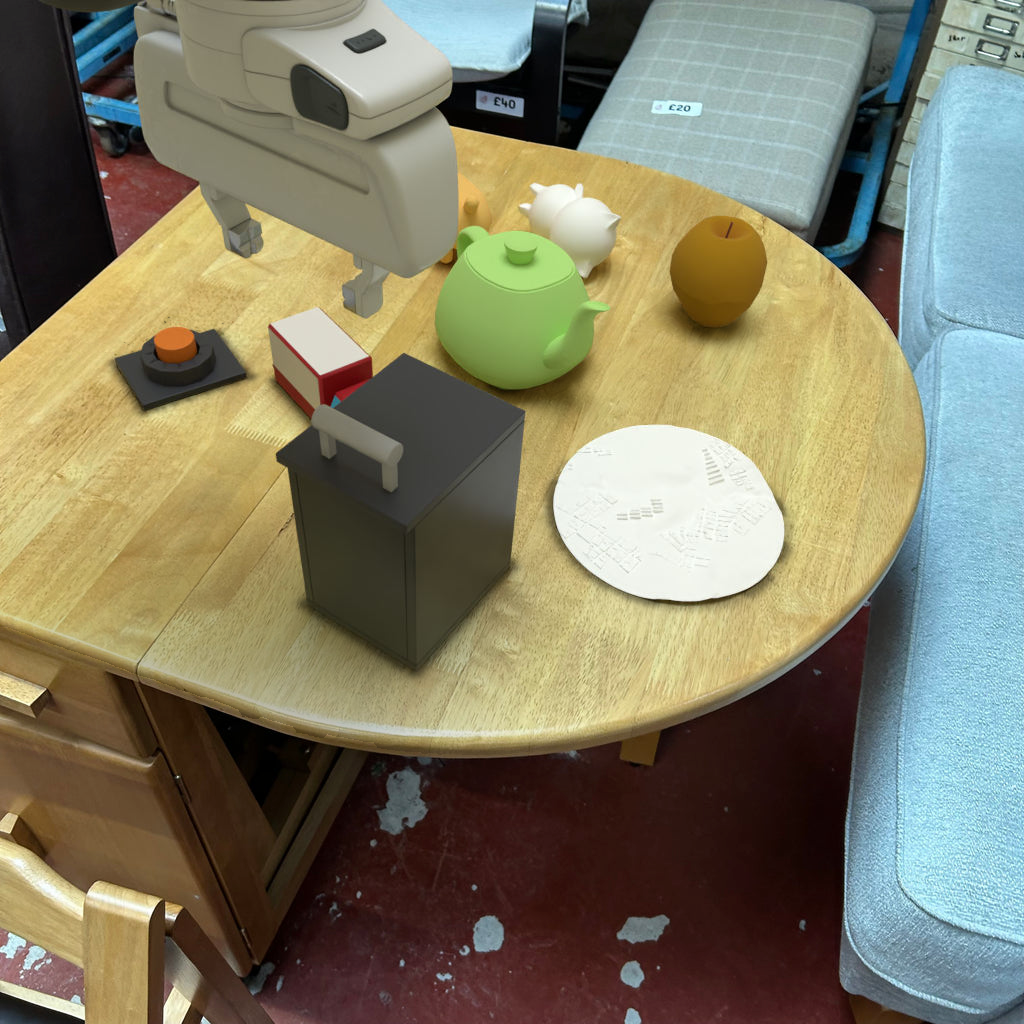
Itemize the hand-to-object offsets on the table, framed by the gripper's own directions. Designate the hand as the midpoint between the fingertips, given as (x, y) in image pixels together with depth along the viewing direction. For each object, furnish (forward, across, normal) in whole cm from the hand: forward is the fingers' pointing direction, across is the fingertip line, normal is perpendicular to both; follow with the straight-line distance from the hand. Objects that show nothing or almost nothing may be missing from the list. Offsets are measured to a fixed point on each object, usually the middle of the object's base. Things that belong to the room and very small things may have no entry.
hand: (302, 279), depth 56 cm
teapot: (+28, -5, +32) cm, 43 cm away
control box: (+27, -29, +10) cm, 41 cm away
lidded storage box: (+27, +5, +3) cm, 28 cm away
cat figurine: (+28, -11, +53) cm, 61 cm away
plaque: (+28, +18, +23) cm, 40 cm away
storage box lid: (+11, +5, +3) cm, 13 cm away
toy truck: (+28, -13, +15) cm, 34 cm away
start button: (+25, -29, +10) cm, 40 cm away
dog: (+28, -26, +45) cm, 59 cm away
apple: (+28, +7, +51) cm, 59 cm away
